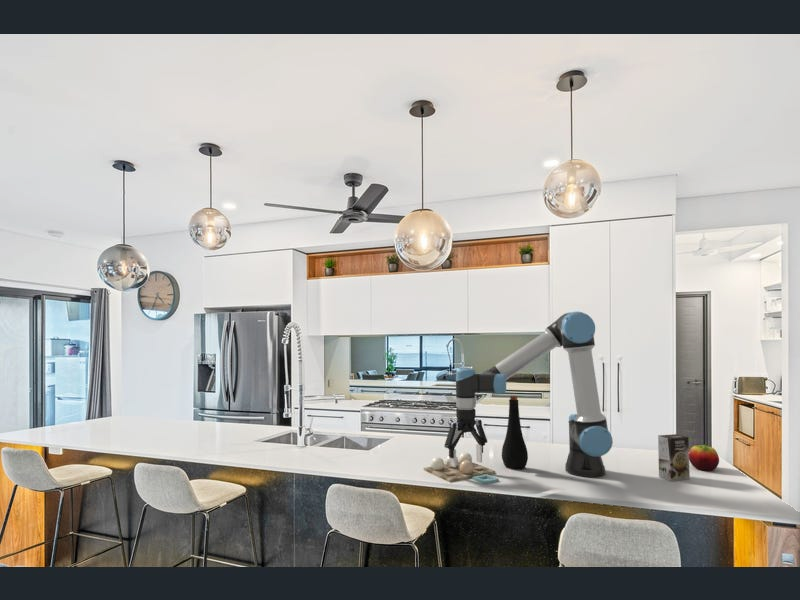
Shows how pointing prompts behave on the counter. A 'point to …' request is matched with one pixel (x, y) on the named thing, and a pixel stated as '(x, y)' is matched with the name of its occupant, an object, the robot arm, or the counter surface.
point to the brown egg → (466, 467)
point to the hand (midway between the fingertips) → (466, 463)
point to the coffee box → (673, 457)
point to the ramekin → (481, 477)
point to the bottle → (514, 439)
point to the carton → (458, 472)
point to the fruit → (703, 457)
